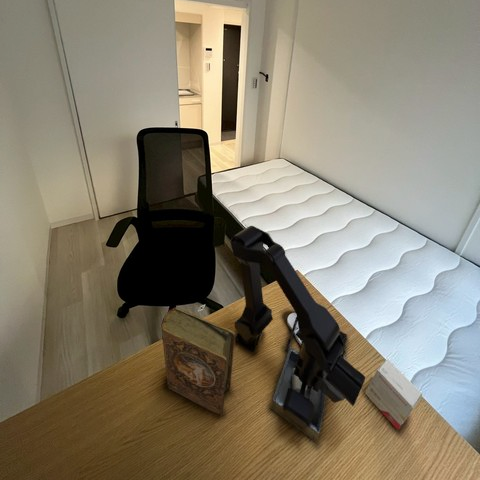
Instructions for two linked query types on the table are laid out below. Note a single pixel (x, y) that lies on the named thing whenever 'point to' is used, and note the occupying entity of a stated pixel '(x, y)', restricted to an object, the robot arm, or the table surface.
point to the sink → (315, 398)
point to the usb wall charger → (296, 383)
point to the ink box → (393, 393)
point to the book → (197, 358)
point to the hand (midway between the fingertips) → (300, 390)
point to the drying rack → (293, 333)
